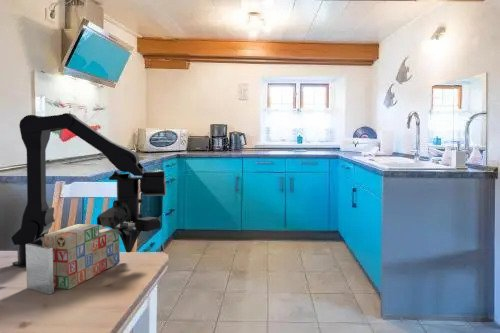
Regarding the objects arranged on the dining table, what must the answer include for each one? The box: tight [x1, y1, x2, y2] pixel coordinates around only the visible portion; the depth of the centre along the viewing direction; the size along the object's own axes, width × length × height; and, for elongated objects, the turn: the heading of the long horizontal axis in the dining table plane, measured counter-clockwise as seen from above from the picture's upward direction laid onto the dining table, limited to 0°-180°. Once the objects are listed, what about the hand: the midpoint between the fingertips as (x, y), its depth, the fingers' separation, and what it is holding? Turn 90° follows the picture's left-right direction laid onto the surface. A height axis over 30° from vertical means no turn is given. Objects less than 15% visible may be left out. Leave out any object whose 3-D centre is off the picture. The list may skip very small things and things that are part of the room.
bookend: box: [25, 243, 55, 295], centre depth 94 cm, size 8×1×10 cm, turn 61°
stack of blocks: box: [43, 223, 121, 290], centre depth 106 cm, size 21×6×12 cm, turn 166°
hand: (128, 252), depth 118 cm, fingers closed
